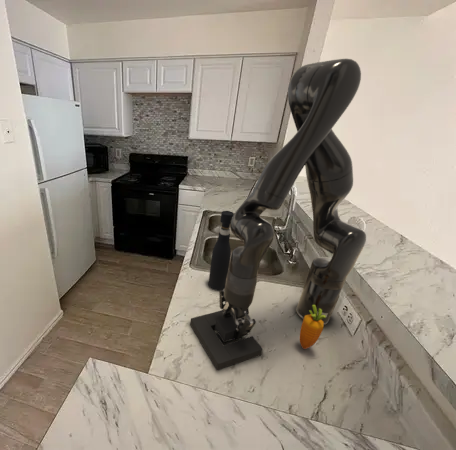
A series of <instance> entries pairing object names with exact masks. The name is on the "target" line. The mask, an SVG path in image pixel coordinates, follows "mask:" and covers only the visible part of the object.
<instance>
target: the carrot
mask: <svg viewBox="0 0 456 450" xmlns="http://www.w3.org/2000/svg"><path fill="white" fill-rule="evenodd" d="M312 307H313V311H314V314H313V312H312V311H311V310H309V311H310V313H311V314H310V315H305V316H304V319H302V323H301V327H300V330H299V343H300V346H301V348H302V349H304V350H306V349H309V348H311V347H313V346H314V345H315V343H316V342H318V340H319V338H320V336H321V334H322V332H323V330H324V326H325V325H324V322H323V321H322V320H321V319H323V318H326V316H325V315H322V310H321V309H319V311H318V316H317V309H316V305H312Z"/></svg>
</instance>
